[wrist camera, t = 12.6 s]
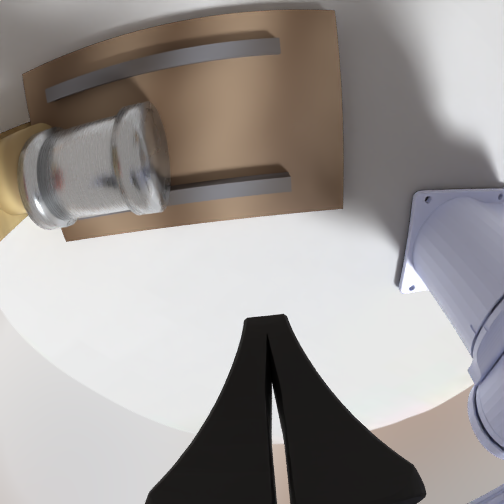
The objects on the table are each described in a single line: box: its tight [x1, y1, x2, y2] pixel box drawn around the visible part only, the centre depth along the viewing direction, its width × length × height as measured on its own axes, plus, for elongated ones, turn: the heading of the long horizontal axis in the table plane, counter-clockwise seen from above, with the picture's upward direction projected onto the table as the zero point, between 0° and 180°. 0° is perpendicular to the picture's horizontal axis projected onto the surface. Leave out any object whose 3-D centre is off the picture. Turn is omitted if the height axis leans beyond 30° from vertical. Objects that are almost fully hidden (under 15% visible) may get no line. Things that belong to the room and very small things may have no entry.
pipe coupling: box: [17, 101, 171, 230], centre depth 13 cm, size 6×5×5 cm
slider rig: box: [0, 10, 343, 242], centre depth 12 cm, size 22×11×9 cm, turn 96°
